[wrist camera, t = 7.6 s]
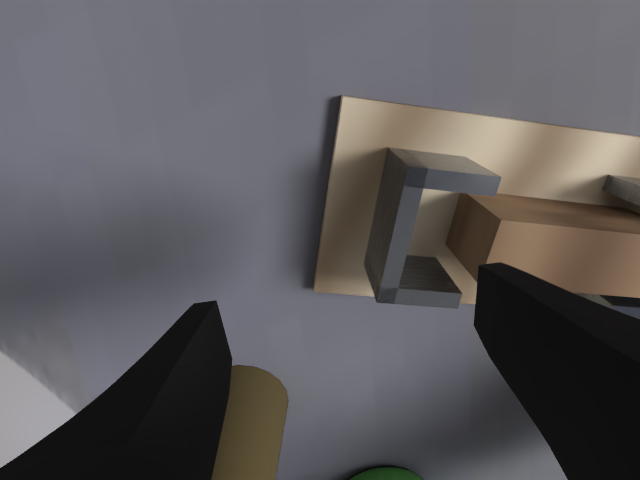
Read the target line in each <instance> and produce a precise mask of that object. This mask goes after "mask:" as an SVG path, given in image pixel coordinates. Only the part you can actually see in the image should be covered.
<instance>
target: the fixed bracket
mask: <svg viewBox="0 0 640 480" xmlns="http://www.w3.org/2000/svg"><path fill="white" fill-rule="evenodd" d="M602 190H603V191H605V192H608V193H610V194H612V195H615V196H617V197H619V198H622V199H624V200H626V201H629V202H631V203H634V204H636V205H638V206H640V178H633V177H625V176H617V175H609V174H608V176H607V178H606V181H605V183H604V185H603V187H602ZM573 293H574V292H573ZM574 294H577V295H579V296H581V297H584V298H586V299H589V300H591V301H593V302H596V303H598V304H601V305H603V306H606V307H609V308H611V309H614V310H616V311H619V312H621V313H624V314H627V315H629V316H632V317H635V318H638V319H640V298H634V297H622V296H610V295H598V294H586V293H574Z"/></svg>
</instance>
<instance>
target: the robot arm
mask: <svg viewBox="0 0 640 480" xmlns="http://www.w3.org/2000/svg"><path fill="white" fill-rule="evenodd" d="M474 327H475V329H476V331H477V333H478V335H479V337H480V339H481V341H482V343H483V345H484V347H485V349H486V351H487V353H488V355H489V357H490V358H491V360H492V361H493V363H494V364H495V366H496V367H497V369H498V370H499V372H500V373H501V375H502V376H503V378H504V379H505V381H506V382H507V384H508V385H509V387H510V388H511V389H512V391H513V392H514V394H515V395H516V397H517V398H518V400H519V401H520V403H521V404H522V405H523V407H524V408H525V410H526V411H527V413H528V414H529V416H530V417H531V419H532V420H533V422H534V423H535V424H536V426H537V427H538V429H539V430H540V432H541V434H542V435H543V437H544V438H545V440H546V442H547V443H548V445H549V446H550V448H551V450H552V452H553V453H554V455H555V457H556V459H557V461H558V462H559V464H560V466H561V468H562V470H563V472H564V473H565V475H566V477H567V479H568V480H640V319H638V318H635V317H632V316H629V315H627V314H624V313H621V312H619V311H616V310H614V309H611V308H609V307H606V306H603V305H601V304H598V303H596V302H593V301H591V300H589V299H586V298H584V297H581V296H579V295H577V294H574V293H572V292H570V291H567V290H565V289H563V288H561V287H558V286H556V285H554V284H552V283H549V282H547V281H545V280H543V279H540V278H538V277H536V276H534V275H531V274H529V273H527V272H524V271H522V270H520V269H517V268H515V267H513V266H510V265H507V264H505V263H502V262H498V263H490V264H483V265H478V278H477V291H476V304H475V317H474ZM231 368H232V356H231V353H230V349H229V345H228V342H227V338H226V334H225V330H224V327H223V323H222V319H221V316H220V312H219V308H218V305H217V301H209V302H202V303H194V304H193V305H192V306H191V307H190V308H189V309H188V310H187V311H186V312H185V313H184V314H183V315H182V316H181V317H180V318H179V319H178V320H177V321H176V322H175V323H174V324H173V326H172V327H171V328H170V329H169V330H168V331H167V332H166V333H165V334H164V335H163V336H162V337H161V338H160V339H159V340H158V341H157V342H156V343H155V344H154V345H153V346H152V347H151V348H150V349H149V350H148V351H147V352H146V353H145V354H144V355H143V356H142V357H141V358H140V359H139V360H138V361H137V362H136V363H135V364H134V365H133V366H132V367H131V368H130V369H129V370H127V371H126V372H125V373H124V374H123V375H122V376H121V377H120V378H119V379H118V380H117V381H116V382H115V383H114V384H112V385H111V386H110V387H109V388H108V389H107V390H106V391H104V392H103V393H102V394H101V395H100V396H98V397H97V398H96V399H95V400H94V401H92V402H91V403H90V404H89V405H87V406H86V407H85V408H84V409H82V410H81V411H80V412H79V413H77V414H76V415H75V416H74V417H73V418H71V419H70V420H69V421H67V422H66V423H64V424H63V425H62V426H60V427H59V428H57V429H56V430H55V431H53V432H52V433H50V434H49V435H48V436H46V437H45V438H43V439H42V440H41V441H39V442H38V443H36V444H35V445H34V446H32V447H31V448H29V449H28V450H27V451H25V452H24V453H22V454H21V455H20V456H18V457H17V458H15V459H14V460H12V461H10V462H9V463H7V464H6V465H4V466H3V467H1V468H0V480H211V479H212V474H213V469H214V465H215V460H216V455H217V451H218V446H219V441H220V437H221V432H222V427H223V423H224V418H225V413H226V408H227V403H228V398H229V393H230V382H231Z"/></svg>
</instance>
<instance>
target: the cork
mask: <svg viewBox="0 0 640 480" xmlns="http://www.w3.org/2000/svg"><path fill="white" fill-rule="evenodd" d="M287 407H288V396H287V390H286V389H285V387H284V386H283V384H282V383H281V381H280V380H279V379H277V378H276V377H275V376H273V375H272V374H271V373H269V372H267V371H265V370H262V369H259V368H257V367H251V366H242V365H237V366H232V368H231V382H230V393H229V398H228V403H227V408H226V413H225V418H224V423H223V427H222V432H221V437H220V441H219V446H218V451H217V455H216V460H215V465H214V469H213V474H212V479H211V480H275V479H276V473H277V467H278V461H279V455H280V449H281V443H282V437H283V431H284V425H285V419H286V413H287Z"/></svg>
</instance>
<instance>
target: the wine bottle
mask: <svg viewBox="0 0 640 480" xmlns="http://www.w3.org/2000/svg"><path fill="white" fill-rule="evenodd" d="M350 480H423V479H422V478H421V477H419V476H418V475H416V474H415V473H413V472H411V471H408V470H405V469H402V468H394V467H382V468H375V469H371V470H367V471H364V472H362V473H360V474H358V475H356V476H354V477H352V478H351V479H350Z"/></svg>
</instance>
